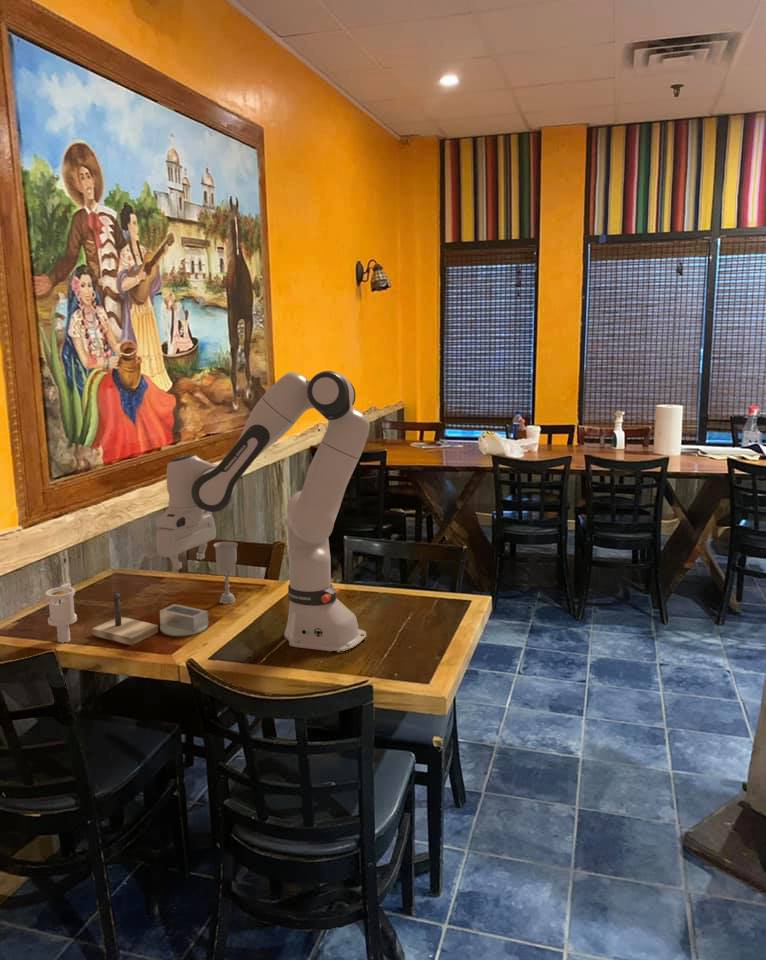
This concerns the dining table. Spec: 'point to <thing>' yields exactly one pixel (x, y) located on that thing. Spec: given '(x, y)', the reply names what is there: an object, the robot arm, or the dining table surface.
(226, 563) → the chalice
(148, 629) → the stand
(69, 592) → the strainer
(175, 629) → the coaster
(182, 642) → the dining table surface
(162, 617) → the grey hollow block
